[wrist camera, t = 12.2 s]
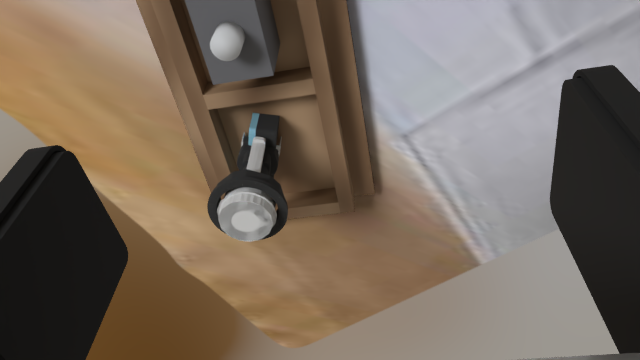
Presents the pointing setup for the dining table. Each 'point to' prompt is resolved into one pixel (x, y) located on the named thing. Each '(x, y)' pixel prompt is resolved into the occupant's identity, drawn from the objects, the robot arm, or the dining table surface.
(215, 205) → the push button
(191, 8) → the plug block
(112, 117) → the dining table surface
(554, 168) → the robot arm
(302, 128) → the brown wooden divided tray
